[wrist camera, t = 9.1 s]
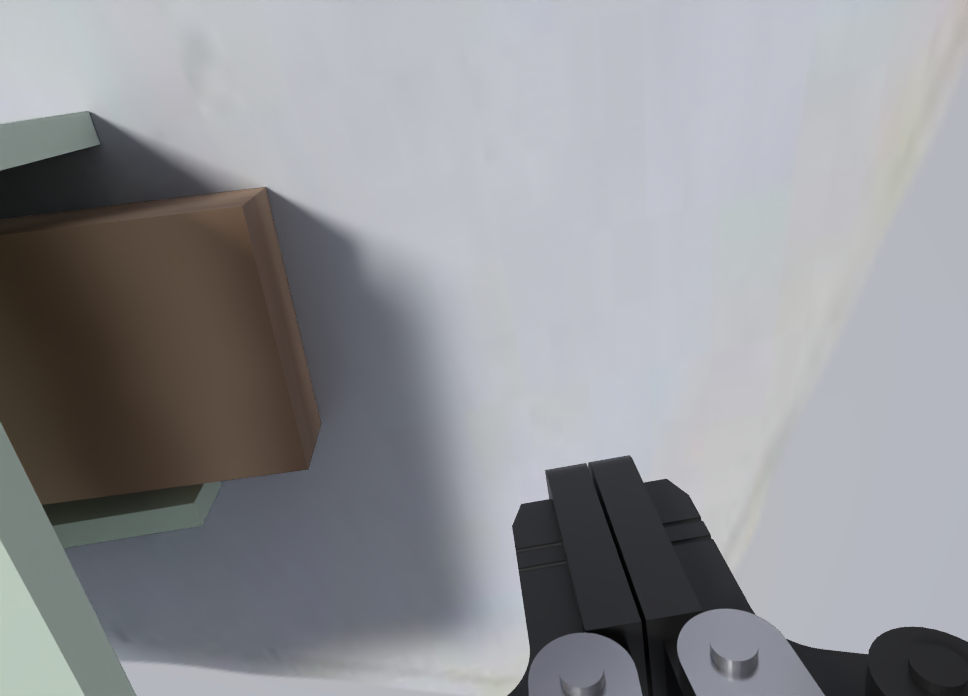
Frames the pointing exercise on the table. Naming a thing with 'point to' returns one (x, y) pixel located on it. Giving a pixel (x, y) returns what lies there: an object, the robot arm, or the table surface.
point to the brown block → (151, 347)
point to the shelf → (65, 522)
